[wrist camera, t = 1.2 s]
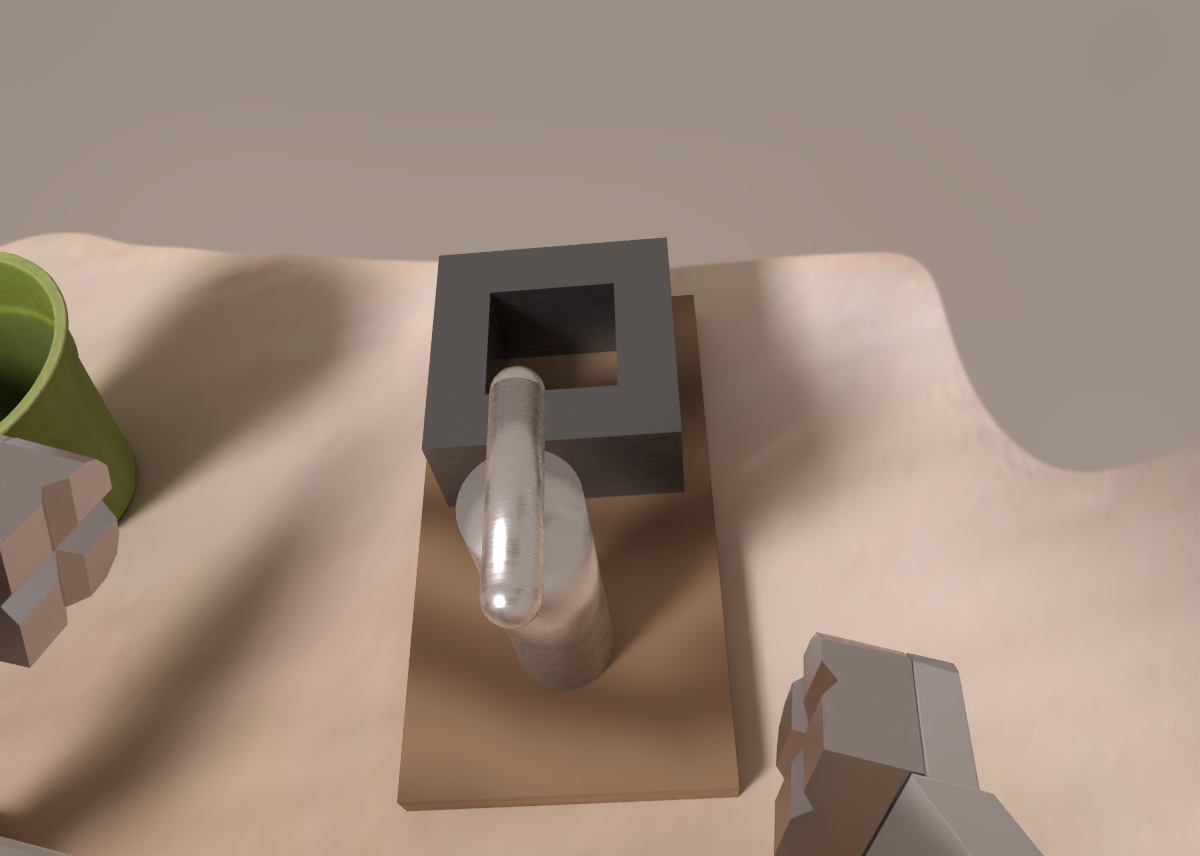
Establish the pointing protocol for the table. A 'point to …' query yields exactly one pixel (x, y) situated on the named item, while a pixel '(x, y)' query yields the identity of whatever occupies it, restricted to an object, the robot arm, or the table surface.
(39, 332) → the plant pot
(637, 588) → the beige thin flat slab
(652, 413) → the square socket block
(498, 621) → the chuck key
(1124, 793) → the table surface
